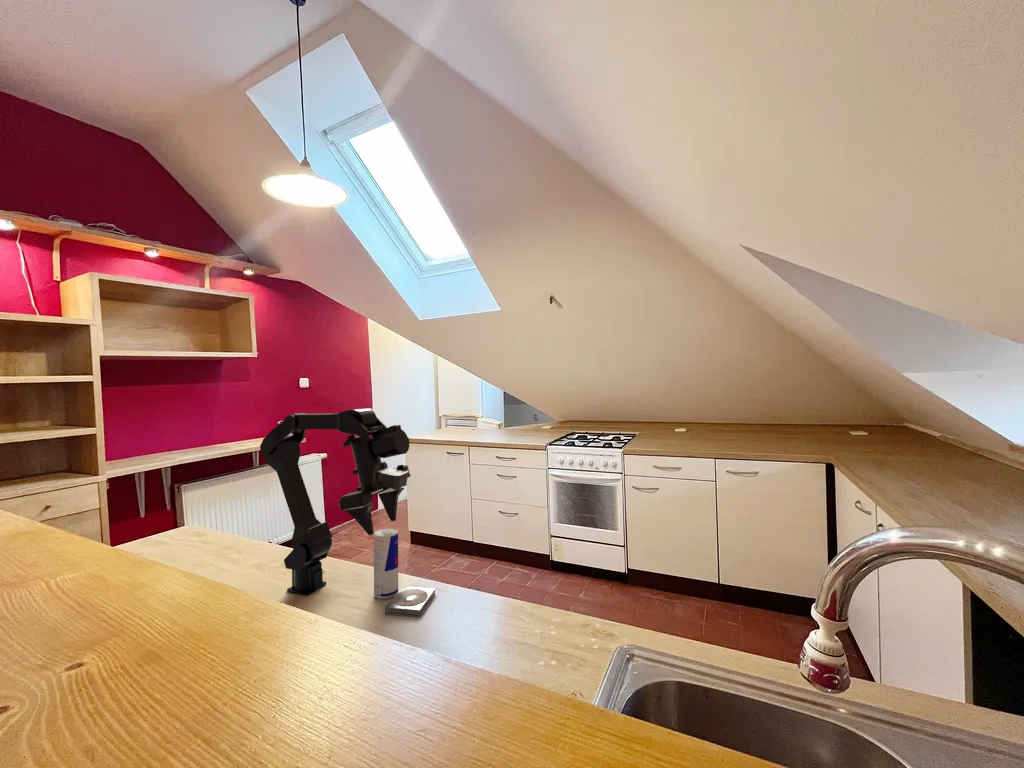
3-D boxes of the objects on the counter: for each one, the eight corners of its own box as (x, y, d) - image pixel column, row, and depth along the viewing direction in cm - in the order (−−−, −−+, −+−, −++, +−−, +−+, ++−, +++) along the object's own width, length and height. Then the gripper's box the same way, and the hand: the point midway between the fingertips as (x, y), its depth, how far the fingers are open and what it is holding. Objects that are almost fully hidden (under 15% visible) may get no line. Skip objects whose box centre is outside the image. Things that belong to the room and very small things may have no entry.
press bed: (384, 614, 95) (384, 606, 95) (403, 592, 105) (403, 585, 105) (419, 617, 94) (419, 609, 94) (435, 594, 104) (435, 587, 104)
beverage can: (391, 601, 101) (391, 536, 101) (369, 599, 102) (369, 534, 102) (402, 590, 106) (402, 528, 106) (381, 588, 107) (381, 527, 107)
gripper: (374, 463, 91) (390, 537, 90) (417, 448, 109) (431, 510, 108) (330, 473, 94) (345, 544, 93) (379, 456, 112) (393, 516, 111)
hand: (382, 527), depth 101 cm, fingers open, 9 cm apart
